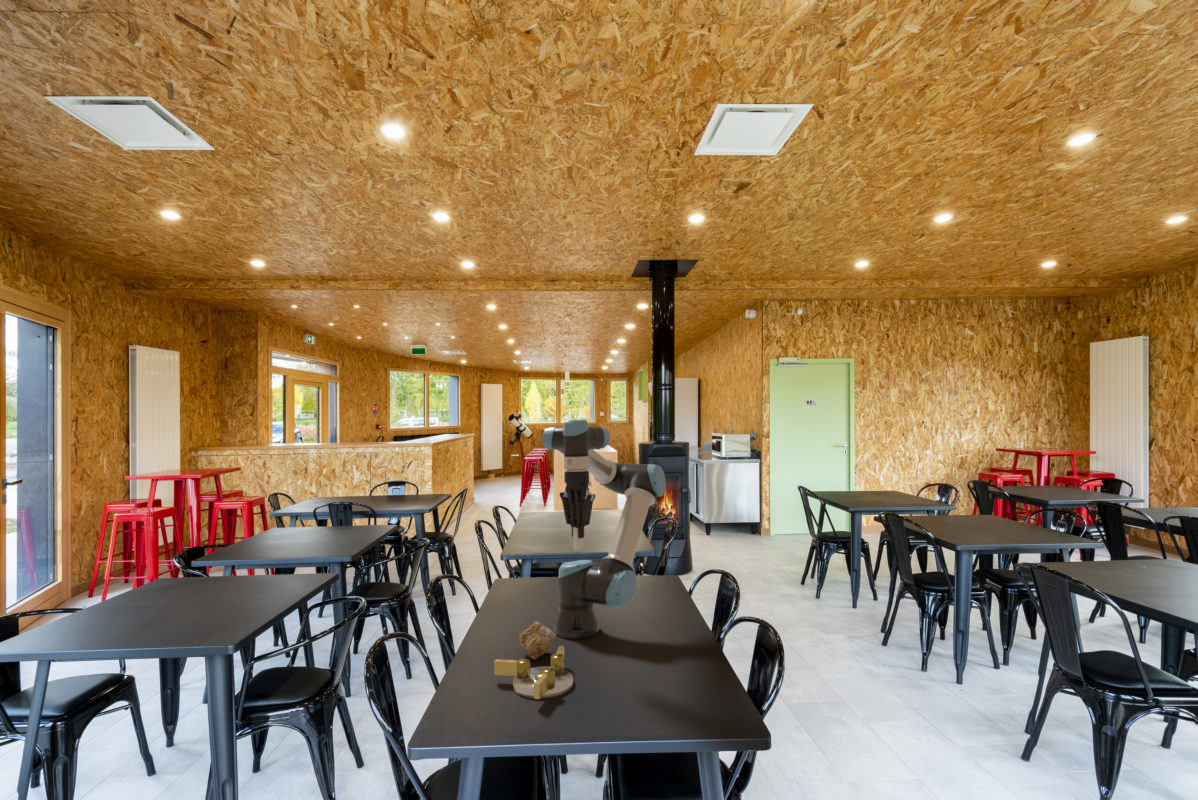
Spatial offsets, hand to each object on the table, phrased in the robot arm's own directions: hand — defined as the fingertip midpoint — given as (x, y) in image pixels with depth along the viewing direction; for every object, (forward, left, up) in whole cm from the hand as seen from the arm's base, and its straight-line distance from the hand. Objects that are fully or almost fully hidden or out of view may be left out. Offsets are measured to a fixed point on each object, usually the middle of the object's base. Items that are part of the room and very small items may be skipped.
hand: (578, 548), depth 174 cm
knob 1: (-3, -24, -30) cm, 39 cm away
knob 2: (+11, -26, -30) cm, 41 cm away
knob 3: (+3, -12, -30) cm, 33 cm away
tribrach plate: (+5, -20, -32) cm, 38 cm away
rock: (-11, -8, -33) cm, 35 cm away
